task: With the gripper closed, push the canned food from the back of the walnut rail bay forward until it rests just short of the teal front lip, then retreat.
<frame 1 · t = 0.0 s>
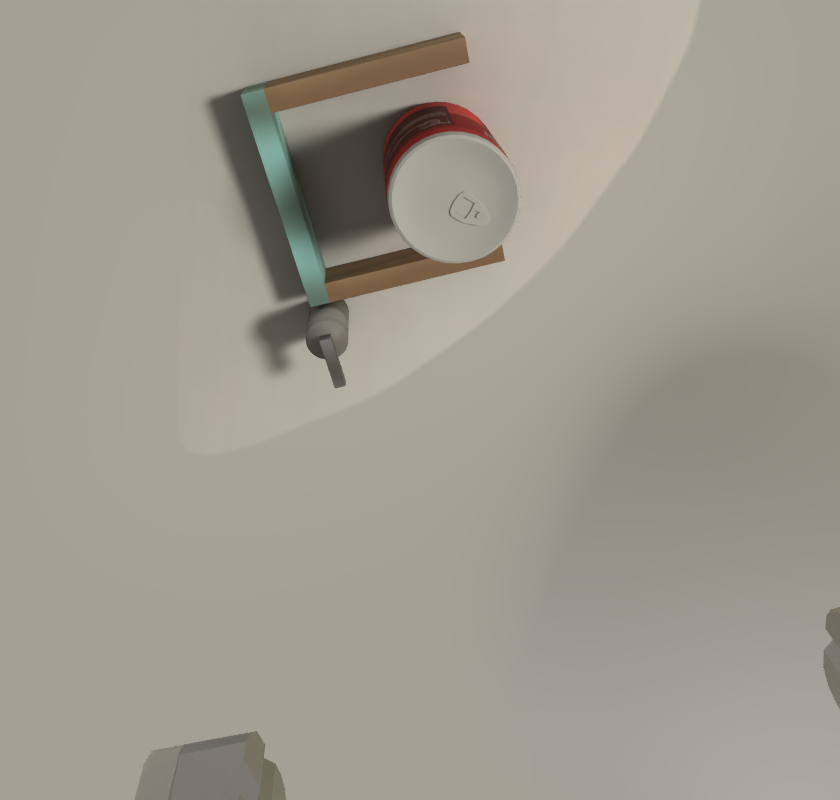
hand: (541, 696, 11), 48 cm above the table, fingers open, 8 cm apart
canned food: (438, 156, 54), on the table
bay: (411, 164, 54), on the table
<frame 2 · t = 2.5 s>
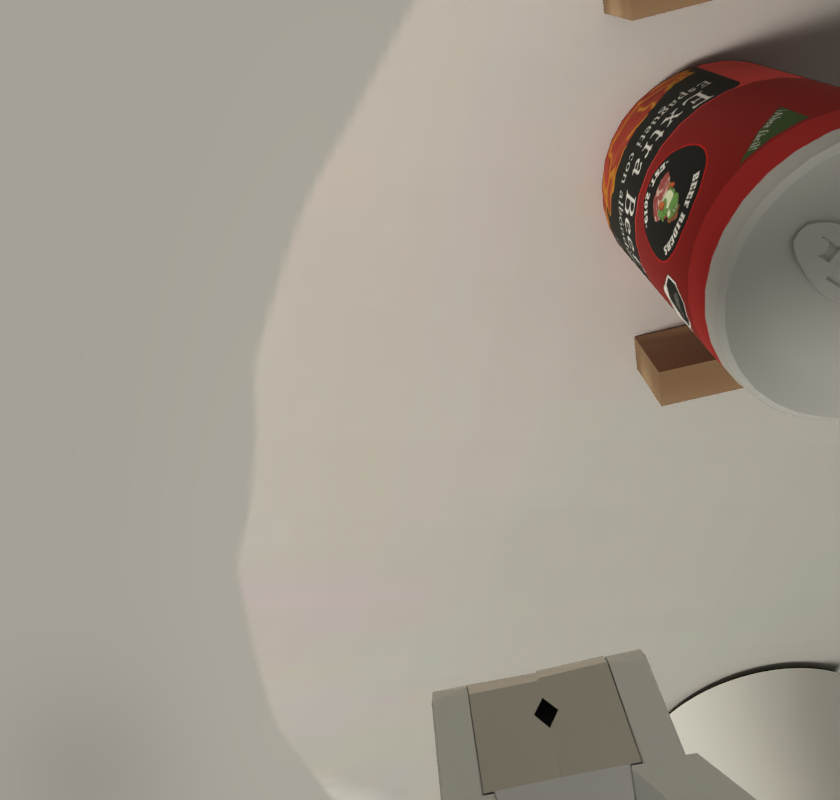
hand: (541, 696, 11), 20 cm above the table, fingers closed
canned food: (700, 171, 28), on the table
bay: (758, 159, 28), on the table
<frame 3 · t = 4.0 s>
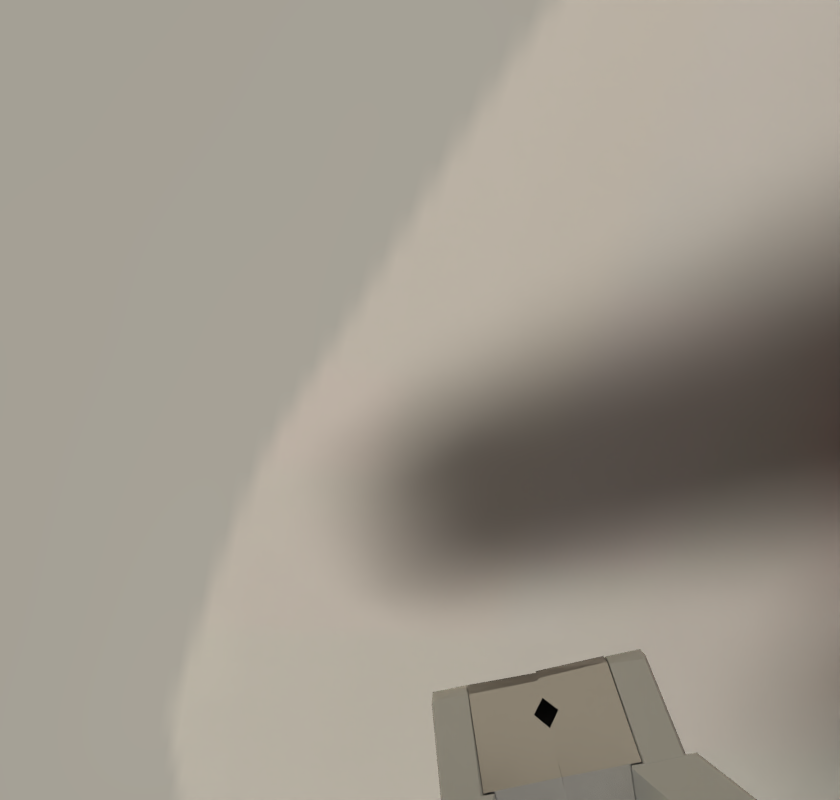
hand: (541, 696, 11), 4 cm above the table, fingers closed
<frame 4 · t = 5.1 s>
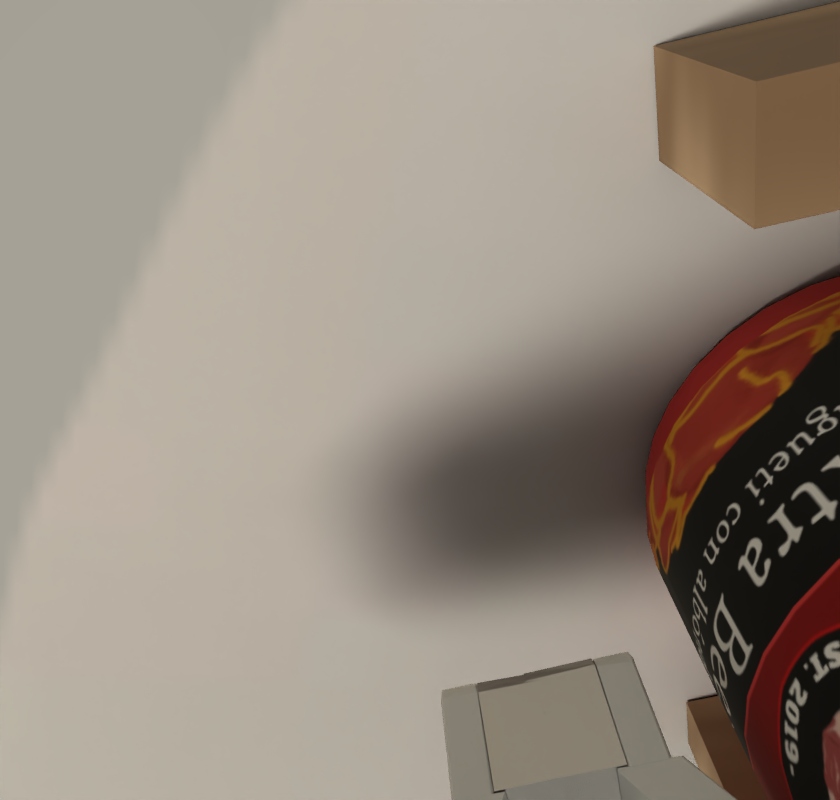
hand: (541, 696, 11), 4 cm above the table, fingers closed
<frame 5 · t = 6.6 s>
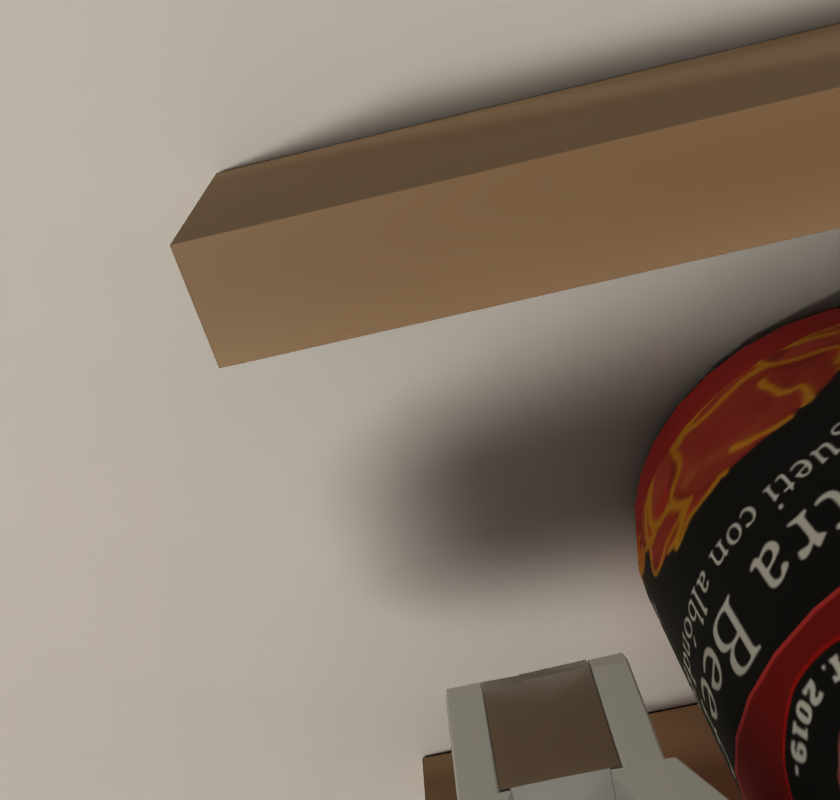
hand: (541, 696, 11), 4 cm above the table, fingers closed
canned food: (822, 476, 14), on the table, touching gripper
bay: (618, 511, 14), on the table
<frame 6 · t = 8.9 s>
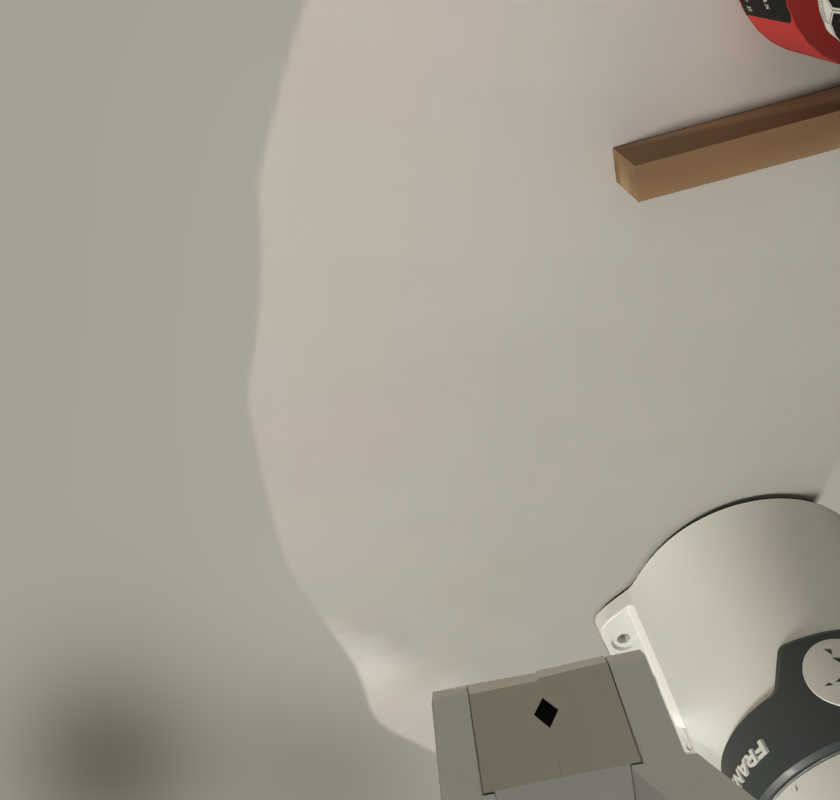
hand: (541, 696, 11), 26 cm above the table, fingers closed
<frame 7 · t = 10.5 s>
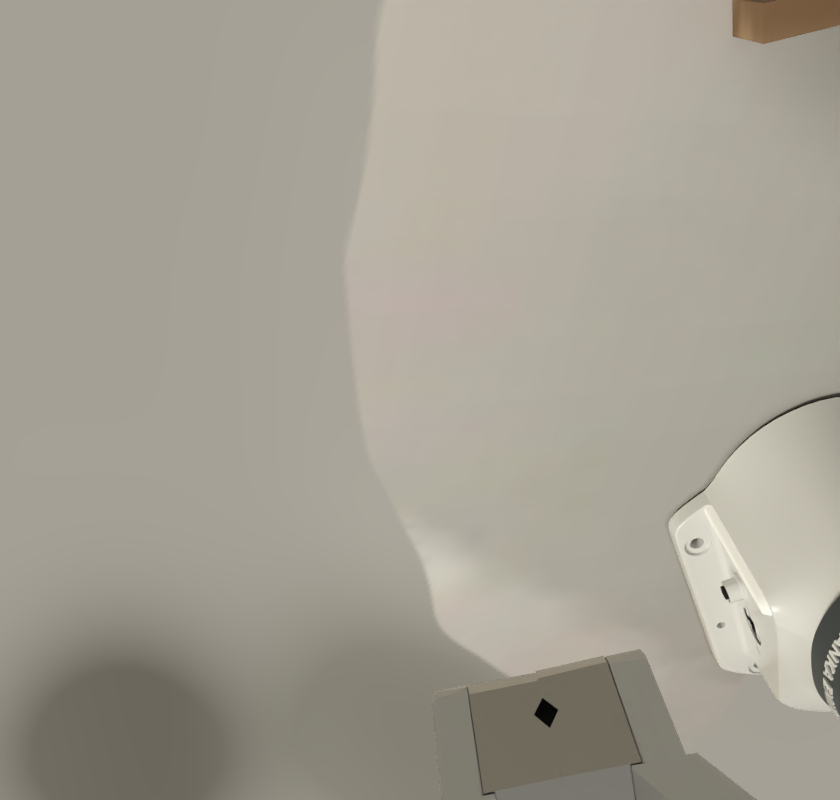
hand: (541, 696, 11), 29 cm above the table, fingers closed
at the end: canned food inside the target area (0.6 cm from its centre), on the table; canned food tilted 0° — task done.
